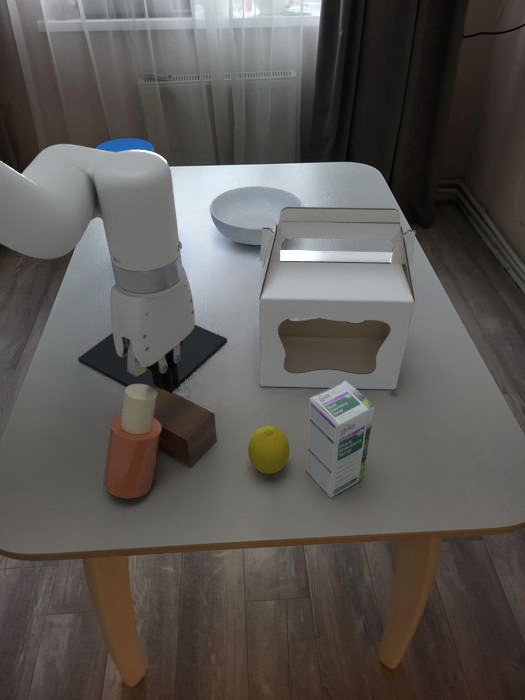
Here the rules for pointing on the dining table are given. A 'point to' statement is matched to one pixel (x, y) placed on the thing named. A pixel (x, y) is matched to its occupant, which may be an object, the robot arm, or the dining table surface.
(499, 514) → the dining table surface
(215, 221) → the serving bowl
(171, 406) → the block
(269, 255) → the gable box
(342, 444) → the syrup box
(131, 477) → the two-tone stacked cylinder
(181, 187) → the dining table surface
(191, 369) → the mat
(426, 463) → the dining table surface
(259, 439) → the lemon
